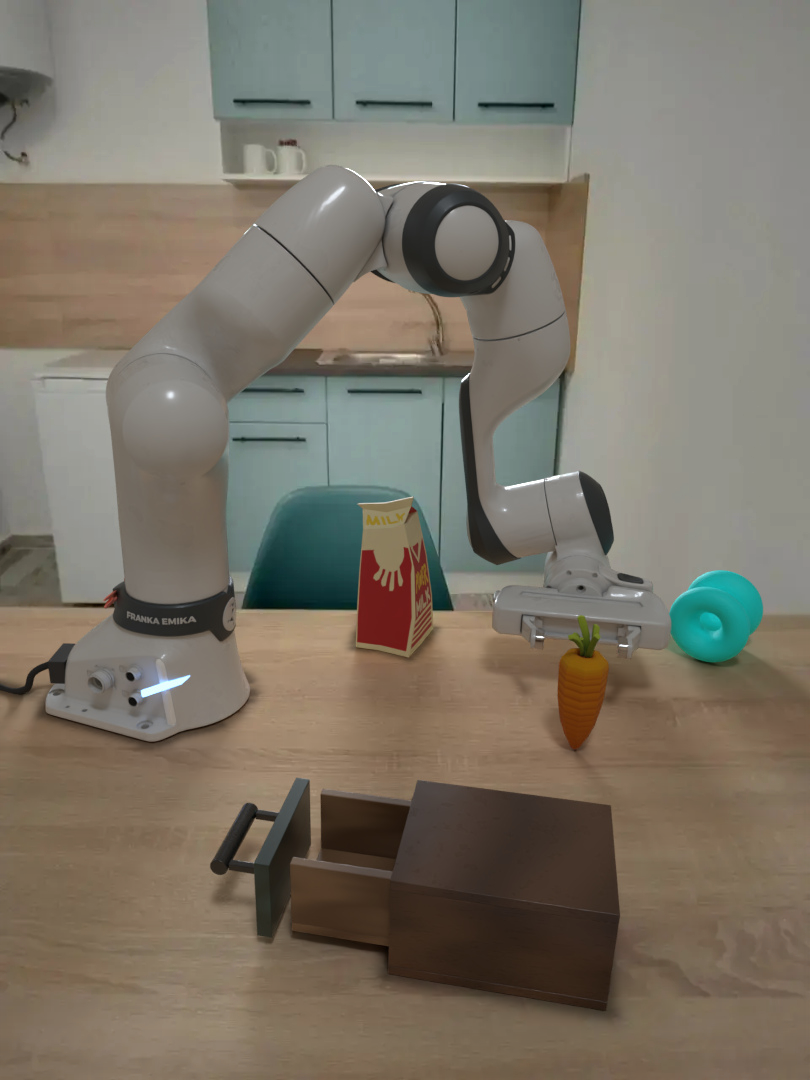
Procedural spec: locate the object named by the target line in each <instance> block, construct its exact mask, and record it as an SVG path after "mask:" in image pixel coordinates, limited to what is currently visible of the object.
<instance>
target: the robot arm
mask: <svg viewBox="0 0 810 1080" xmlns="http://www.w3.org/2000/svg"><path fill="white" fill-rule="evenodd" d="M368 273H371V274H373V275H375V276H376V277H378V278H380V279H382V280H383V281H386V282H389V283H392V284H397V285H398V286H400V287H401V288H403V289H406V290H408V291H410V292H415V293H420V294H425V295H434V296H437V297H441V298H459V299H460V301H461V303H462V305H463V307H464V309H465V311H466V317H467V322H468V325H469V329H470V333H471V336H472V343H473V351H474V354H473V356H474V357H473V362H472V366H471V370H470V372H468V373H467V375H465V376H464V377H463V378H462V379H461V382H460V385H459V390H458V417H459V418H458V419H459V431H460V443H461V455H462V463H463V464H462V465H463V474H464V485H465V495H466V512H465V513H466V514H465V528H466V534H467V540H468V542H469V545H470V547H471V548H472V551H473V553H474V554H475V555H476V556H478V557H480V558H481V559H483V560H485V561H486V562H488V563H491V564H493V565H496V566H500V565H504V564H507V563H510V562H513V561H517V560H521V559H523V558H527V557H531V556H536V555H542V554H546V555H545V556H546V557H545V561H544V569H543V584H542V587H541V586H531V585H521V584H520V585H519V584H510V585H509V584H508V585H506V586H504V587H502V589H500V590H495V592H494V594H493V596H492V603H493V605H492V616H491V617H492V618H491V628H492V629H493V631H495V632H496V633H497V634H500V635H507V636H508V635H509V636H518V637H521V638H523V639H524V640H525V641H527V642H528V643H530V644H529V649H532V650H533V649H534V650H543V651H544V645H545V644H544V643H545V639H547V640H557V641H566V642H572V641H571V640H569V638H568V635H571V634H573V633H574V632H575V633H578V634H579V636H580V637H583V636H582V632H581V629H580V626H579V623H578V619H577V617H578V616H580V615H583V616H585V619H586V622H587V625H588V629H589V633H590V641H591V638H592V629H593V624H597V625H598V626H599V627H600V631H599V635H600V636H601V638H600V639H599V641H598V642H597V644H596V645H605V646H614V647H616V658H619V659H627V660H631V659H632V657H633V652H635V651H636V650H639V649H643V650H654V651H662V650H664V649H667V648H668V646H669V644H670V639H671V618H670V615H669V612H670V611H668V608H667V606H666V604H665V602H664V601H663V599H662V598H661V597H660V596H659V595H657V594H656V593H654V583H653V581H651V580H650V579H648V578H644V577H639V576H635V575H631V574H627V573H623V572H620V571H617V570H615V569H613V568H612V567H611V566H612V565H611V562H610V559H609V555H608V554H609V553H610V551H611V549H612V546H613V544H614V542H615V535H614V528H613V522H612V516H611V511H610V506H609V503H608V498H607V496H606V494H605V491H604V489H603V487H602V485H601V484H600V483H599V481H597V480H596V479H595V478H593V477H592V476H591V475H589V474H587V473H585V472H584V471H582V470H577V471H571V472H566V473H561V474H556V475H552V476H546V477H544V478H541V479H536V480H531V481H527V482H523V483H518V484H513V485H512V484H511V485H501V484H499V483H498V482H497V475H496V463H495V449H494V434H495V433H496V430H497V429H498V427H500V425H501V424H502V423H503V422H504V421H505V420H506V419H507V418H509V417H510V416H511V415H513V414H514V413H515V412H516V411H518V410H519V409H522V407H524V406H526V405H527V404H529V403H530V402H532V401H534V400H535V399H537V398H539V397H540V396H541V395H542V394H544V393H545V392H546V391H547V390H548V389H549V388H550V387H551V386H552V385H553V384H554V383H555V382H556V381H557V380H558V379H559V377H560V376H561V375H562V373H563V372H564V370H565V368H566V366H567V364H568V362H569V359H570V356H571V351H572V350H571V334H570V333H571V332H570V325H569V319H568V315H567V309H566V305H565V300H564V296H563V292H562V289H561V285H560V282H559V278H558V276H557V273H556V269H555V266H554V263H553V261H552V259H551V256H550V253H549V251H548V248H547V247H546V244H545V241H544V239H543V237H542V235H541V233H540V232H539V231H538V230H537V228H535V227H534V226H533V225H531V224H530V223H527V222H525V221H521V220H513V219H508V220H505V219H504V218H503V216H502V214H501V213H500V211H499V210H498V208H497V207H496V205H495V204H493V202H492V201H491V200H490V199H489V198H488V197H486V196H485V195H483V194H482V193H481V192H480V191H478V190H476V189H474V188H472V187H470V186H467V185H465V184H459V183H441V182H438V181H432V180H420V181H419V180H418V181H412V182H406V183H394V184H389V185H386V186H382V187H380V188H377V189H374V188H373V186H372V185H371V184H370V183H369V181H367V180H366V179H365V178H364V177H362V176H361V175H360V174H359V173H358V172H356V171H354V170H352V169H350V168H348V167H345V166H343V165H338V164H327V165H322V166H320V167H317V168H316V169H314V170H313V171H311V172H310V173H308V174H307V175H305V176H304V177H303V178H301V179H300V180H299V181H297V182H296V183H295V184H294V185H292V186H291V187H289V189H288V190H286V191H285V192H284V193H283V194H282V195H281V196H280V197H278V198H277V199H276V200H275V201H274V202H273V203H272V204H271V205H270V206H269V207H268V208H267V209H266V210H265V211H264V212H263V213H262V214H261V215H260V216H259V217H258V218H257V219H256V220H255V221H254V222H253V224H251V226H250V227H249V228H248V229H247V230H246V231H245V232H244V233H243V234H242V235H241V236H240V238H238V240H237V241H236V242H235V243H234V244H233V245H232V247H230V249H229V250H228V251H227V252H226V253H225V254H224V256H222V258H221V259H220V260H219V261H218V262H216V264H215V266H214V267H213V268H212V269H211V270H210V271H209V272H208V273H207V274H206V275H205V277H203V279H201V281H199V283H198V284H197V285H196V286H195V287H194V288H193V289H192V290H191V291H190V292H189V293H188V294H187V295H185V296H184V297H183V298H182V299H181V300H180V301H179V302H178V303H176V305H175V306H173V307H172V308H171V309H170V310H169V311H168V312H167V313H166V314H165V315H163V317H162V318H160V320H159V321H158V322H156V324H154V325H153V326H152V327H151V329H150V330H148V331H147V333H145V335H143V336H142V337H141V338H140V339H139V340H138V341H137V342H136V343H134V346H132V347H131V348H130V350H128V351H127V352H126V353H125V355H123V356H122V358H120V360H119V361H118V362H116V364H115V365H114V366H113V368H112V370H111V371H110V374H109V376H108V378H107V382H106V385H105V403H106V407H107V408H106V409H107V410H106V411H107V417H108V424H109V430H110V438H111V448H112V449H111V450H112V459H113V471H114V481H115V491H116V492H115V493H116V503H117V519H118V527H119V538H120V548H121V558H122V567H123V568H122V569H123V577H124V578H123V581H121V582H119V583H118V584H117V585H115V586H114V587H113V588H112V592H110V593H109V594H108V595H107V596H105V597H104V598H103V600H102V601H103V602H105V604H104V605H103V608H104V609H108V608H109V607H110V606H112V605H113V606H114V607H113V608H114V609H113V613H111V614H110V615H108V616H107V617H106V618H104V619H103V620H102V621H100V622H99V623H98V624H96V625H95V626H94V627H93V628H91V629H90V630H89V631H87V632H86V633H85V634H84V635H83V636H81V638H79V640H77V642H76V643H71V642H70V643H68V642H66V643H65V642H63V643H62V644H61V645H60V646H59V648H58V649H57V650H56V651H55V653H53V655H52V656H51V657H50V658H49V660H47V661H45V662H42V663H40V664H38V665H36V666H34V667H33V668H31V670H30V671H29V672H28V673H27V676H26V679H25V684H24V686H21V687H10V686H7V685H5V684H3V683H0V691H2V692H5V693H9V694H13V695H23V694H26V693H28V692H30V691H31V689H32V688H33V686H34V681H35V677H36V676H37V675H38V674H40V673H41V672H44V671H46V670H48V675H49V682H50V684H52V686H51V688H50V689H49V690H48V693H47V694H46V697H45V713H46V714H48V715H51V716H53V717H57V718H61V719H64V720H69V721H72V722H76V723H79V724H83V725H86V726H90V727H94V728H98V729H101V730H105V731H109V732H112V733H116V734H118V735H123V736H127V737H130V738H134V739H138V740H141V741H145V742H151V743H152V742H153V743H154V742H159V741H162V740H165V739H166V738H169V737H173V735H176V734H178V733H181V732H184V731H188V730H193V729H197V728H201V727H205V726H209V725H212V724H215V723H218V722H220V721H223V720H224V719H227V718H228V717H230V716H232V715H233V714H235V713H237V712H238V711H239V710H240V709H241V708H242V707H243V706H244V705H245V704H246V703H247V701H248V699H249V698H250V693H251V687H250V684H249V681H248V679H247V676H246V673H245V671H244V668H243V664H242V660H241V657H240V653H239V648H238V644H237V643H238V642H237V638H236V637H237V636H236V630H235V629H236V625H237V602H236V595H235V593H236V592H235V584H234V579H233V577H232V576H231V575H230V563H229V561H230V560H229V559H230V558H229V544H228V543H229V542H228V541H229V540H228V522H227V505H228V503H227V502H228V491H229V479H230V477H229V474H230V426H231V425H230V424H231V423H230V411H229V407H228V404H230V402H232V401H233V400H234V399H235V398H236V397H237V396H238V395H240V394H241V393H242V392H243V391H244V390H246V389H247V388H248V387H249V386H250V385H252V384H253V383H254V382H255V381H257V380H258V379H259V378H261V377H262V376H263V375H265V374H266V373H267V372H269V371H270V370H272V369H273V368H275V367H277V366H279V365H281V364H282V363H283V362H284V361H285V360H286V359H287V358H288V357H289V355H290V354H291V353H293V351H294V350H295V349H296V348H297V347H298V346H299V344H301V342H302V341H303V340H304V339H305V338H306V337H307V336H308V335H309V334H310V332H311V331H312V330H313V329H314V328H315V327H316V326H317V324H319V323H320V321H321V320H322V319H323V318H324V317H325V316H326V315H327V314H328V313H329V311H330V310H331V309H332V308H333V307H334V306H335V305H336V304H337V303H338V301H339V300H340V299H341V298H342V296H344V294H345V293H346V292H347V291H348V289H349V288H350V287H351V285H352V284H353V283H356V281H358V280H359V279H360V278H362V277H363V276H365V275H367V274H368Z"/></svg>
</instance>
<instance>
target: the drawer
mask: <svg viewBox="0 0 810 1080" xmlns="http://www.w3.org/2000/svg"><path fill="white" fill-rule="evenodd" d="M319 795H320V799H319V800H320V846H321V847H320V850H319V853H318V855H317V858H316V859H310V858H307V855H308V853H309V850H310V848H311V846H312V831H311V830H312V829H311V780H310V779H309V778H303V777H295V779H294V781H293V783H292V786H291V787H290V789H289V791H288V793H287V796H286V798H285V800H284V802H283V803H282V806H281V808H280V810H279V812H278V811H271V810H265V809H259V807H258V806H257V805H256V803H253V802H245V803H243V805H242V807H241V808H240V810H239V812H238V814H237V815H236V817H235V819H234V821H233V823H232V824H231V827H230V828H229V829H228V832H227V833H226V835H225V837H224V838H223V841H222V843H221V844H220V845H219V847H218V849H217V851H216V853H215V854H214V856H213V858H212V860H211V861H210V864H209V868H210V871H211V872H212V873H213V874H215V875H217V876H223V875H226V874H227V872H228V871H232V872H237V873H244V874H250V875H253V876H254V877H253V879H254V896H255V898H254V899H255V901H254V902H255V920H256V935H257V937H264V938H268V939H273V937H274V934H275V932H276V929H277V927H278V926H279V922H280V920H281V918H282V915H283V912H284V910H285V908H286V905H287V903H288V901H289V899H290V912H291V913H290V914H291V915H290V916H291V918H290V919H291V931H292V932H297V933H305V934H311V935H317V936H324V937H330V938H335V939H342V940H348V941H354V942H358V943H359V942H360V943H366V944H372V945H378V946H383V947H389V915H390V880H391V876H392V872H393V868H394V865H395V861H396V857H397V854H398V850H399V846H400V842H401V839H402V835H403V831H404V828H405V824H406V820H407V816H408V813H409V809H410V805H411V802H412V799H411V800H410V799H402V798H395V797H388V796H380V795H373V794H367V793H360V792H359V793H358V792H352V791H351V792H350V791H345V790H336V789H328V788H322V789H321V792H320V794H319ZM255 820H257V821H258V820H259V821H264V822H265V821H266V822H273V824H272V826H271V827H270V830H269V832H268V833H267V836H266V837H265V840H264V842H263V844H262V846H261V848H260V849H259V852H258V853H257V856H256V858H255V859H254V862H253V861H252V862H251V861H244V860H238V859H235V857H236V856H237V853H238V852H239V850H240V848H241V846H242V844H243V842H244V841H245V839H246V837H247V835H248V833H249V831H250V829H251V827H252V825H253V823H254V821H255Z"/></svg>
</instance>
